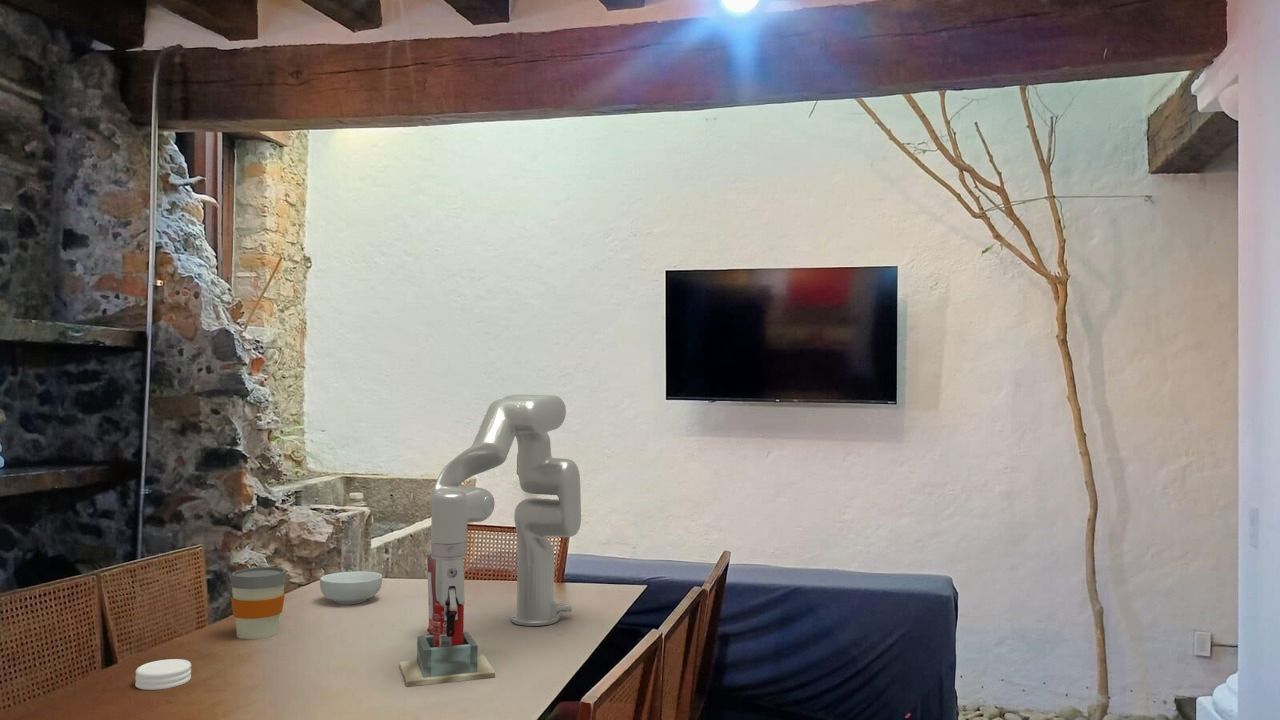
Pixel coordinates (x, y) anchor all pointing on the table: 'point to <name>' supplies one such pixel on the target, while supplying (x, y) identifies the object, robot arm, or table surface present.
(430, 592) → the liquor
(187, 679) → the coaster
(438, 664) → the well board
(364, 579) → the cereal bowl
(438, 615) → the beverage can
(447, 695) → the table surface
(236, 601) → the reusable coffee cup
